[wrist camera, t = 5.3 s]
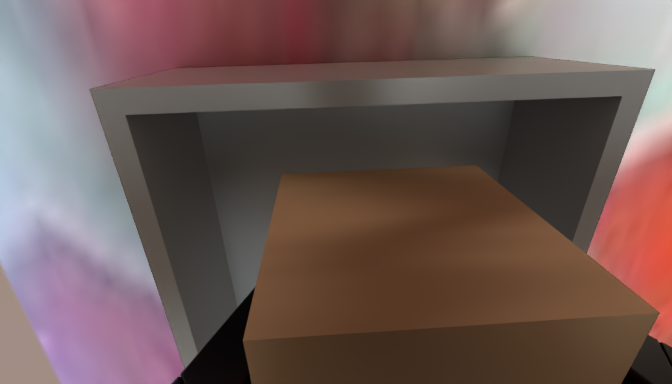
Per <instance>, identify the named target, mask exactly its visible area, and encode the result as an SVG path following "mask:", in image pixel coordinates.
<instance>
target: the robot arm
mask: <svg viewBox="0 0 672 384" xmlns="http://www.w3.org/2000/svg"><path fill="white" fill-rule="evenodd" d="M254 290H255V287H254V289H253V290H252V291H251V292H250V293H249V294H248V296H247V297H246V298H245V299H244V300H243V301H242V303H241V304H240V305H239V306H238V307H237V308H236V310H235V311H234V312H233V313H232V314H231V315H230V317H229V318H228V319H227V320H226V321H225V322H224V324H223V325H222V326H221V327H220V328H219V329H218V331H217V332H216V333H215V334H214V335H213V336H212V338H211V339H210V340H209V341H208V342H207V343H206V345H205V346H204V347H203V348H202V349H201V350H200V352H199V353H198V354H197V355H196V356H195V357H194V358H193V360H192V361H191V362H190V363H189V364H188V365H187V367H186V368H185V369H184V370H183V371H182V372H181V374H180V376H181V377H177V378H176V379H175V380H174V382H173V383H172V384H252V382H251V378H250V373H249V368H248V363H247V359H246V354H245V349H244V344H243V338H244V333H245V329H246V325H247V320H248V316H249V312H250V308H251V303H252V299H253V295H254ZM621 384H672V347H670V346H668V345H666V344H665V343H662V342H660V343H659V342H658V340H657V339H655V338H653V337H651V336H649V335H648V336H647V337H646V339H645V341H644V343H643V345H642V347H641V348H640V350H639V352H638V354H637V356H636V358H635V360H634V361H633V363H632V365H631V367H630V369H629V371H628V372H627V374H626V376H625V378H624V380H623V382H622V383H621Z"/></svg>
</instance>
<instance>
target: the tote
mask: <svg viewBox="0 0 672 384" xmlns="http://www.w3.org/2000/svg"><path fill="white" fill-rule="evenodd" d="M654 72H655V69H646V68H637V67H627V66H618V65H608V64H598V63H589V62H579V61H570V60H560V59H550V58H541V57H502V58H471V59H440V60H409V61H378V62H347V63H316V64H285V65H254V66H223V67H192V68H173V69H169V70H165V71H161V72H157V73H153V74H149V75H145V76H141V77H136V78H132V79H128V80H124V81H120V82H116V83H112V84H108V85H104V86H100V87H96V88H92V89H90V92H91V95H92V98H93V101H94V104H95V107H96V110H97V113H98V116H99V119H100V122H101V125H102V127H103V130H104V133H105V136H106V139H107V142H108V145H109V148H110V151H111V154H112V157H113V160H114V163H115V166H116V169H117V172H118V175H119V177H120V180H121V183H122V186H123V189H124V192H125V195H126V198H127V201H128V204H129V207H130V210H131V213H132V216H133V219H134V222H135V224H136V227H137V230H138V233H139V236H140V239H141V242H142V245H143V248H144V251H145V254H146V257H147V260H148V263H149V266H150V269H151V272H152V274H153V277H154V280H155V283H156V286H157V289H158V292H159V295H160V298H161V301H162V304H163V307H164V310H165V313H166V316H167V319H168V321H169V324H170V327H171V330H172V333H173V336H174V339H175V342H176V345H177V348H178V351H179V354H180V357H181V360H182V363H183V366H184V368H186V367H187V365H188V364H189V363H190V362H191V361H192V360H193V358H194V357H195V356H196V355H197V354H198V353H199V352H200V350H201V349H202V348H203V347H204V346H205V345H206V343H207V342H208V341H209V340H210V339H211V338H212V336H213V335H214V334H215V333H216V332H217V331H218V329H219V328H220V327H221V326H222V325H223V324H224V322H225V321H226V320H227V319H228V318H229V317H230V315H231V314H232V313H233V312H234V311H235V310H236V308H237V307H238V306H239V305H240V304H241V303H242V301H243V300H244V299H245V298H246V297H247V296H248V294H249V293H250V292H251V291H252V290H253V289H254V287H255V286H256V282H257V278H258V273H259V269H260V265H261V260H262V256H263V252H264V248H265V243H266V239H267V235H268V230H269V226H270V222H271V218H272V213H273V209H274V205H275V200H276V196H277V192H278V188H279V183H280V179H281V175H282V174H293V173H315V172H337V171H359V170H381V169H403V168H425V167H447V166H469V165H477V166H478V167H479V168H480V169H482V170H483V171H484V172H485V173H487V174H488V175H489V176H490V177H492V178H493V179H494V180H495V181H497V182H498V183H499V184H500V185H502V186H503V187H504V188H505V189H507V190H508V191H509V192H510V193H512V194H513V195H514V196H515V197H516V198H518V199H519V200H520V201H521V202H523V203H524V204H525V205H526V206H528V207H529V208H530V209H531V210H533V211H534V212H535V213H536V214H538V215H539V216H540V217H541V218H543V219H544V220H545V221H546V222H548V223H549V224H550V225H551V226H553V227H554V228H555V229H556V230H558V231H559V232H560V233H561V234H563V235H564V236H565V237H566V238H567V239H569V240H570V241H571V242H572V243H574V244H575V245H576V246H577V247H579V248H580V249H581V250H582V251H584V252H585V253H586V254H587V251H588V248H589V246H590V243H591V240H592V238H593V235H594V232H595V229H596V227H597V224H598V221H599V219H600V216H601V213H602V211H603V208H604V205H605V203H606V200H607V197H608V195H609V192H610V189H611V187H612V184H613V181H614V179H615V176H616V173H617V171H618V168H619V165H620V163H621V160H622V157H623V155H624V152H625V149H626V147H627V144H628V141H629V139H630V136H631V133H632V131H633V128H634V125H635V123H636V120H637V117H638V115H639V112H640V109H641V107H642V104H643V101H644V99H645V96H646V93H647V91H648V88H649V85H650V83H651V80H652V77H653V75H654Z"/></svg>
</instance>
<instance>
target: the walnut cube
mask: <svg viewBox="0 0 672 384" xmlns="http://www.w3.org/2000/svg"><path fill="white" fill-rule="evenodd" d="M659 314H660V312H658V311H657V310H656V309H655V308H653V307H652V306H651V305H650V304H648V303H647V302H646V301H645V300H643V299H642V298H641V297H640V296H638V295H637V294H636V293H635V292H633V291H632V290H631V289H630V288H628V287H627V286H626V285H625V284H623V283H622V282H621V281H620V280H619V279H617V278H616V277H615V276H614V275H612V274H611V273H610V272H609V271H607V270H606V269H605V268H604V267H602V266H601V265H600V264H599V263H597V262H596V261H595V260H594V259H592V258H591V257H590V256H589V255H587V254H586V253H585V252H584V251H582V250H581V249H580V248H579V247H577V246H576V245H575V244H574V243H572V242H571V241H570V240H569V239H567V238H566V237H565V236H564V235H563V234H561V233H560V232H559V231H558V230H556V229H555V228H554V227H553V226H551V225H550V224H549V223H548V222H546V221H545V220H544V219H543V218H541V217H540V216H539V215H538V214H536V213H535V212H534V211H533V210H531V209H530V208H529V207H528V206H526V205H525V204H524V203H523V202H521V201H520V200H519V199H518V198H516V197H515V196H514V195H513V194H512V193H510V192H509V191H508V190H507V189H505V188H504V187H503V186H502V185H500V184H499V183H498V182H497V181H495V180H494V179H493V178H492V177H490V176H489V175H488V174H487V173H485V172H484V171H483V170H482V169H480V168H479V167H478V166H477V165H469V166H447V167H425V168H403V169H381V170H359V171H337V172H315V173H293V174H282V175H281V179H280V183H279V188H278V192H277V196H276V200H275V205H274V209H273V213H272V218H271V222H270V226H269V230H268V235H267V239H266V243H265V248H264V252H263V256H262V260H261V265H260V269H259V273H258V278H257V282H256V286H255V290H254V295H253V299H252V303H251V308H250V312H249V316H248V320H247V325H246V329H245V333H244V338H243V344H244V349H245V354H246V359H247V363H248V368H249V373H250V378H251V382H252V384H621V383H622V382H623V380H624V378H625V376H626V374H627V372H628V371H629V369H630V367H631V365H632V363H633V361H634V360H635V358H636V356H637V354H638V352H639V350H640V348H641V347H642V345H643V343H644V341H645V339H646V337H647V336H648V334H649V332H650V330H651V328H652V326H653V325H654V323H655V321H656V319H657V317H658V315H659Z"/></svg>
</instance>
